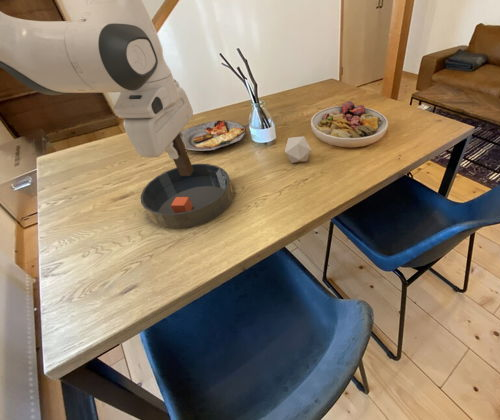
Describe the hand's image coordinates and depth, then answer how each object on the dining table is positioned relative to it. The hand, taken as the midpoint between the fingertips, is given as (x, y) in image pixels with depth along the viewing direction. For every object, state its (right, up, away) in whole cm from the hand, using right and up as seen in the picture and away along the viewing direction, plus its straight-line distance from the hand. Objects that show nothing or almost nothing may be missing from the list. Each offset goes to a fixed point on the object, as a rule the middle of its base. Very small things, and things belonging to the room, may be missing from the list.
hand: (178, 153), depth 63 cm
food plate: (-9, +14, +44) cm, 47 cm away
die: (+25, +4, +32) cm, 41 cm away
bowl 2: (+43, +18, +47) cm, 67 cm away
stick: (0, -4, +4) cm, 6 cm away
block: (-5, -13, +12) cm, 19 cm away
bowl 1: (-5, -10, +17) cm, 20 cm away
